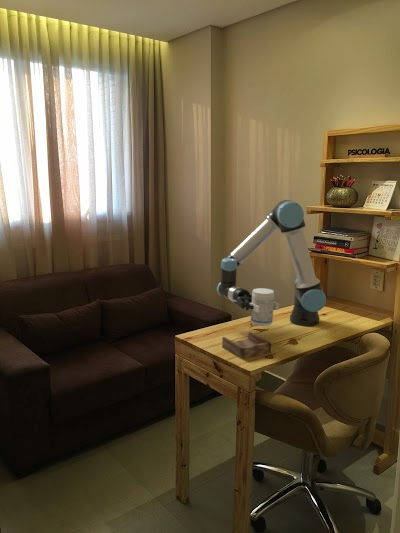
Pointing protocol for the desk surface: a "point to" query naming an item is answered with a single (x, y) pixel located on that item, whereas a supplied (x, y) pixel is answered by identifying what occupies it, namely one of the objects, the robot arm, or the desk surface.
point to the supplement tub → (263, 306)
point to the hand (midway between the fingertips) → (268, 308)
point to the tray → (247, 346)
